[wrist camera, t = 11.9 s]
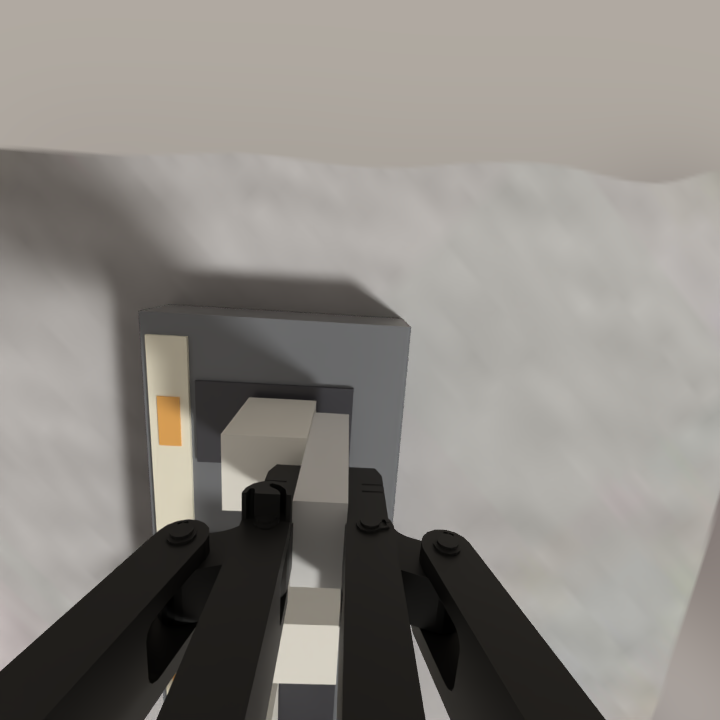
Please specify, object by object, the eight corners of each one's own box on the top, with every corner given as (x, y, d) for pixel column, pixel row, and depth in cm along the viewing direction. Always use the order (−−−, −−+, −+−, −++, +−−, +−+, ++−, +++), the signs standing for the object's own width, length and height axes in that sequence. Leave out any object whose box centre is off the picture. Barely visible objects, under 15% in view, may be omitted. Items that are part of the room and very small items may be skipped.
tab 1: (313, 461, 18) (304, 513, 15) (249, 458, 18) (222, 510, 14) (316, 400, 18) (306, 438, 14) (249, 397, 18) (220, 434, 14)
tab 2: (338, 604, 20) (335, 684, 16) (279, 602, 20) (263, 682, 16) (341, 554, 20) (339, 625, 16) (280, 552, 20) (263, 623, 16)
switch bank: (368, 703, 27) (370, 762, 23) (187, 699, 26) (164, 759, 23) (402, 318, 21) (412, 328, 17) (168, 304, 20) (135, 311, 17)
